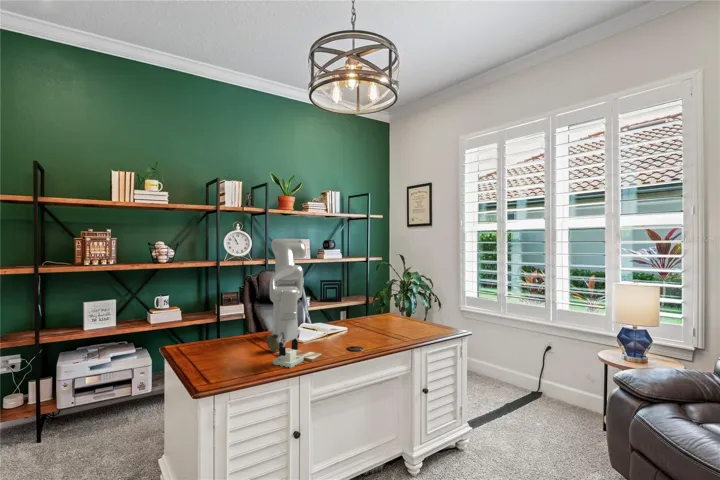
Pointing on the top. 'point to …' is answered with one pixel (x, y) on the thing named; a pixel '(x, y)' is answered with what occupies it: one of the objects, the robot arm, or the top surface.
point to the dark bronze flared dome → (272, 342)
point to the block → (289, 356)
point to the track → (306, 355)
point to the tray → (288, 364)
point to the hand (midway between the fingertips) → (288, 352)
